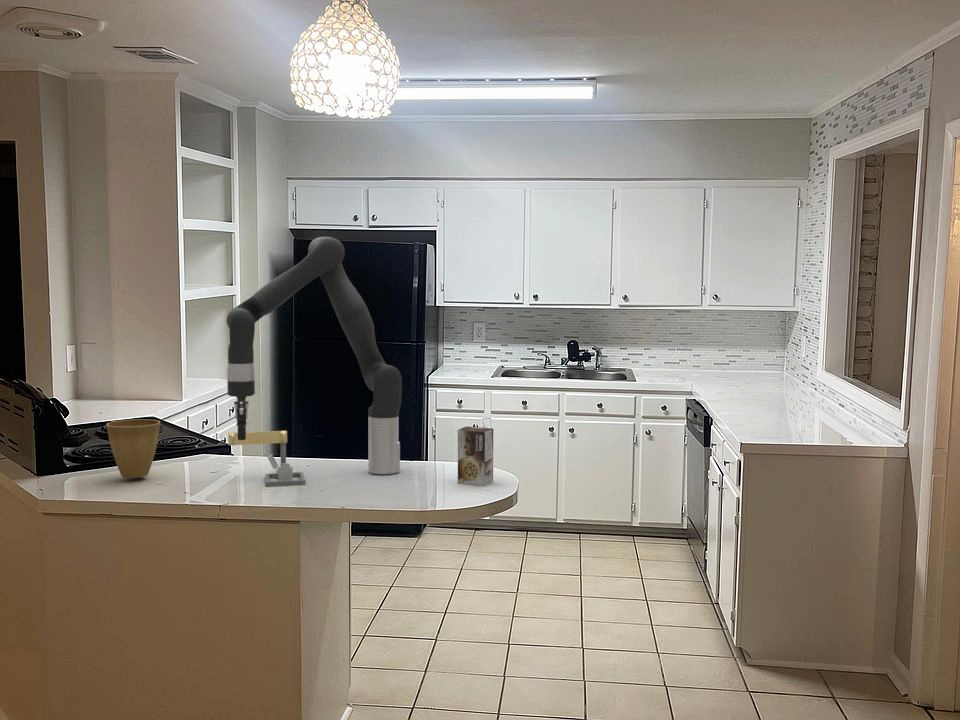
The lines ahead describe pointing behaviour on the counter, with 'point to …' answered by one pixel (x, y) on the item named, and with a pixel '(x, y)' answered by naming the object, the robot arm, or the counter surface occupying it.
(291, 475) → the grey angled piece
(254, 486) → the counter surface
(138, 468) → the plant pot
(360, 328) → the robot arm
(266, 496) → the counter surface
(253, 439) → the gold bar
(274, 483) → the switch
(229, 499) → the counter surface
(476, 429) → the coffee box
